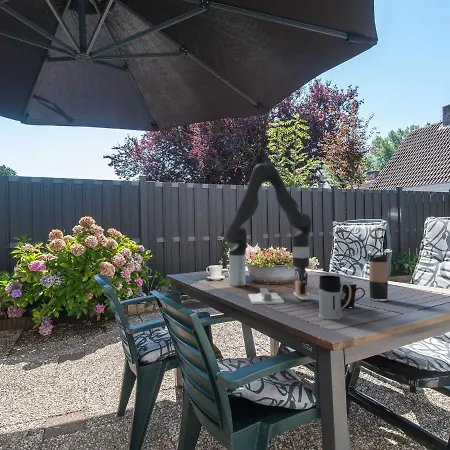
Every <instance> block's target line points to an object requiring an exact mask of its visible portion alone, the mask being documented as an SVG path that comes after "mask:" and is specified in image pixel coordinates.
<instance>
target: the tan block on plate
mask: <svg viewBox="0 0 450 450" xmlns="http://www.w3.org/2000/svg"><path fill="white" fill-rule="evenodd" d="M294 282H295V291H294V292H293V295H294V296H296V297H297V299H299V300H310V297H309V296H308V287H307V286H308V284H307V285H306V286H305V294H300V281H295V280H294ZM303 283H304V281H303Z"/></svg>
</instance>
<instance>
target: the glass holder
mask: <svg viewBox="0 0 450 450" xmlns="http://www.w3.org/2000/svg"><path fill="white" fill-rule="evenodd" d="M340 281H341V276H339V275H333V274H332V275H331V274H329V275H328V274H327V275H324V274H323V275H320V276H319V284H318V300H319V301H318V303H319V305H318V309H319V310H318V315H317V316H319V317H318V318H320V317H321V318H320V319H323V318H325V319H324V320H328V319H338V318H341V317H342V318H343V315H342V310H343V309H345V308H344V307H345V306H347V305H348V303H349V301H350V298H351V287H350V285H349V284H347V283H343V284H342V285H341V288H340ZM344 284H346V285H347V286H348V287H349V299H348V301H347V303H346V304H345V305H344V306H343V307H342V308H341V293H342V287H343V285H344ZM338 320H339V319H338Z"/></svg>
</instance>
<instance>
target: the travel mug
mask: <svg viewBox="0 0 450 450" xmlns="http://www.w3.org/2000/svg"><path fill="white" fill-rule="evenodd" d="M388 263H389V262H388V255H381V254H380V255H379V254H378V255H377V254H376V255H375V254H373V255H372V254H371V255H369V263H368V264H369V266H368V267H369V268H368V270H369V273H368V274H369V276H368V279H369V281H368V282H369V299H370V298H373V299H387V300H388V292H389V290H388V289H389V287H388V286H389V279H388V278H389V276H388V275H389V274H388V273H389V270H388V267H389V266H388Z"/></svg>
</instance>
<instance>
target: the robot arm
mask: <svg viewBox="0 0 450 450" xmlns="http://www.w3.org/2000/svg"><path fill="white" fill-rule="evenodd" d="M263 183H269V184H270V185H271V187H273V189H274V192H275V197H276V201H277V204H278V205H279V206H280V208H281V209H282V210H283V212H284V214H285V215H286V218H287V220H288V222H289V224H290V226H292V227H293V228H294V229H296V233H295V234H294V235H293V237H292V240H293V241H292V243H293V244H292V266H293V268H294V267H295V269H294V278H295V280H294V282H295V281H300V294H305V286H306V285H307V286H308V272H307V271H306V268H309V267H310V248H309V238H310V232H311V227H312V220H311V217H310V215H309V214H307V213H301V212H300V211H299V210H298V209H299V205H298V203H297V201H296V200H295V198H294V197H293V196H292V195H291V193H290V192H289V190H288V188H287V186H286V185H285V184H284V182H283V179H282V178H281V176H280V173H279V172H278V169H277V168H276V166H275V165H274V164H272V163H258V164H256V165H255V166H254V167H253V169H252V172H251V175H250V179H249V182H248V185H247V187H246V188H245V189H246V190H245V192H244V194H243V196H242V199H241V201H240V203H239V206H238V208H237V210H236V213H235V215H234V217H233V218H232V221H231V223H230V224H229V225H228V227H227V230H226V233H225V240H226V242H227V243H229V244H235V246H234V247H232V248H231V249H229V252H228V258H229V259H228V260H229V261H228V263H229V266H228V267H229V268H228V269H229V271H228V272H229V274H228V275H229V286H232V287H238V286H239V287H243V286H245V285H246V251H247V230H246V228H245V227H243V225H244V224H245V223H246V222H248V221H249V220H250V219H251V218H252V217H253V216H254V215H255V213H256V211H257V209H258V207H259V204H260V203H259V202H260V201H259V190H260V188H261V186H262V184H263ZM303 281H304V283H303Z"/></svg>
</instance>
